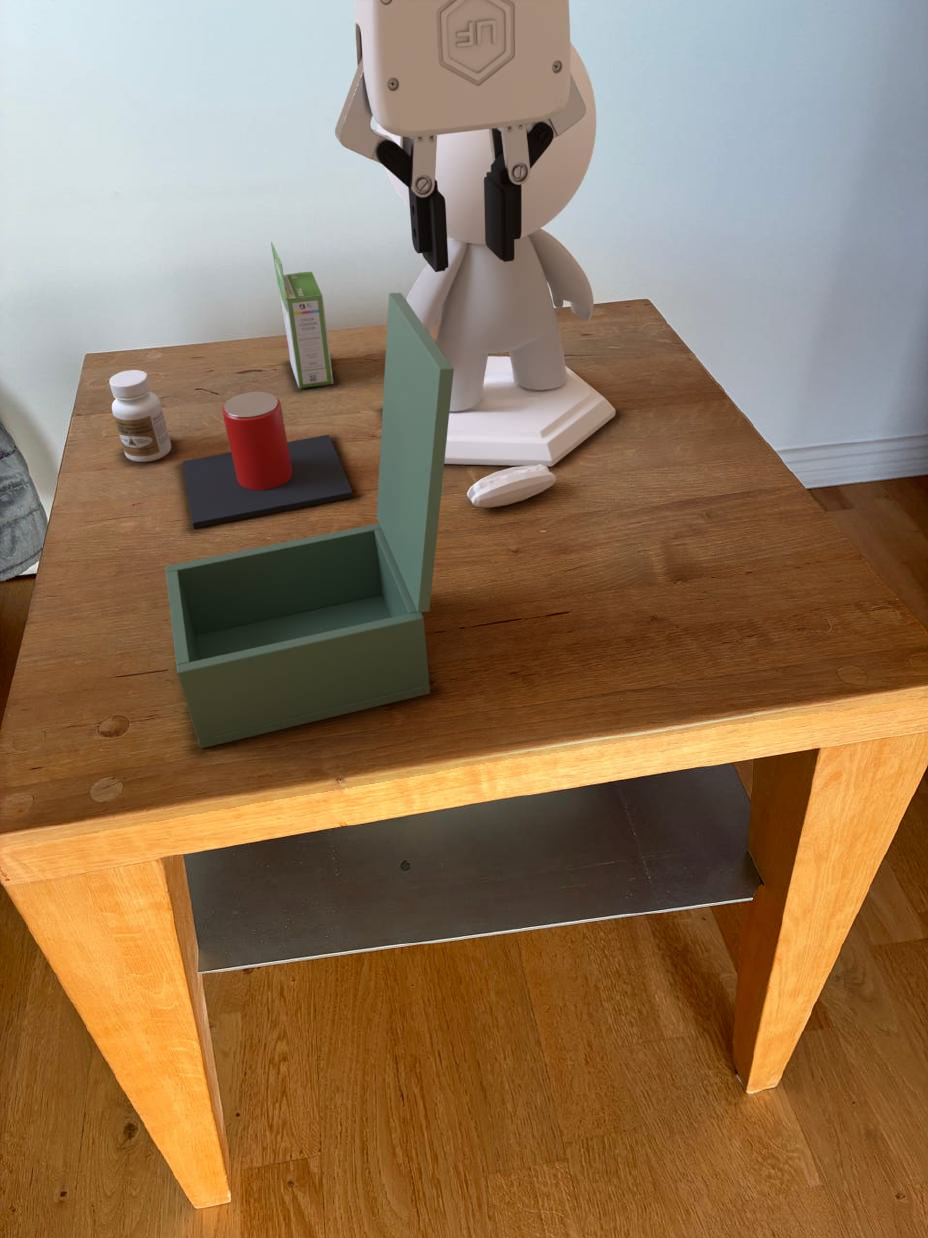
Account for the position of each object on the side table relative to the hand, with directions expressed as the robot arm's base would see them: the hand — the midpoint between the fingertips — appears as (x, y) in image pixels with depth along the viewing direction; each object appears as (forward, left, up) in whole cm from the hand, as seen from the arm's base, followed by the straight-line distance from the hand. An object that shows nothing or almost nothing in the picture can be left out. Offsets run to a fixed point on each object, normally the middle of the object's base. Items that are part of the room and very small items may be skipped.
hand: (467, 255), depth 55 cm
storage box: (-13, 0, -27) cm, 30 cm away
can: (-12, +26, -27) cm, 39 cm away
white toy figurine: (+12, +31, -27) cm, 43 cm away
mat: (-12, +26, -27) cm, 40 cm away
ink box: (-4, +47, -27) cm, 54 cm away
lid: (-5, 0, -12) cm, 13 cm away
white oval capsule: (+8, +16, -27) cm, 32 cm away
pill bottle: (-22, +36, -27) cm, 50 cm away
